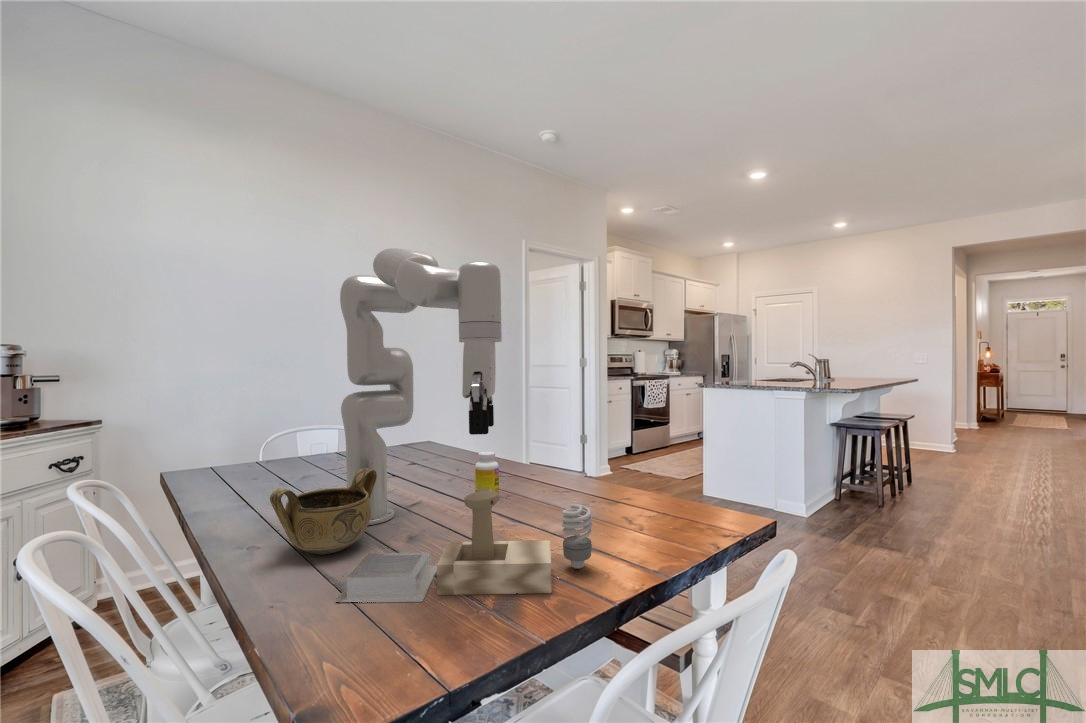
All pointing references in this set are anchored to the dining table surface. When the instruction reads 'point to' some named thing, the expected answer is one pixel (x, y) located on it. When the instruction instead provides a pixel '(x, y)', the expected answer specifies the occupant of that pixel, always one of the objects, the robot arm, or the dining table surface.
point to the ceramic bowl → (327, 514)
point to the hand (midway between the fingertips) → (482, 430)
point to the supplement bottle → (486, 473)
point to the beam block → (496, 569)
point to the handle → (482, 524)
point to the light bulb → (577, 535)
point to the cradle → (390, 578)
